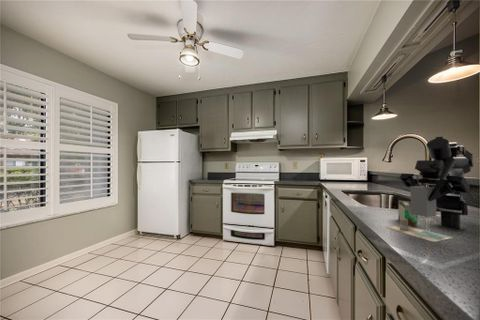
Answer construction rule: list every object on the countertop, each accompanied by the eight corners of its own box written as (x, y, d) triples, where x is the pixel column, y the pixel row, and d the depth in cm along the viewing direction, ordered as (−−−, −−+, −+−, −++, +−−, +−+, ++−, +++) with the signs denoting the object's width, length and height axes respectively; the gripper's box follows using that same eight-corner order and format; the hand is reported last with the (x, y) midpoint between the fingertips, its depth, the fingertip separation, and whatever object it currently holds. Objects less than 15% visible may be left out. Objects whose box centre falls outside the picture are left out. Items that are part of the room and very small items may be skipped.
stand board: (404, 227, 82) (404, 215, 82) (453, 240, 68) (453, 225, 68) (385, 230, 79) (385, 217, 79) (433, 244, 64) (433, 229, 65)
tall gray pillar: (420, 212, 76) (419, 186, 76) (436, 215, 71) (435, 187, 71) (410, 213, 74) (410, 186, 74) (427, 217, 69) (426, 188, 70)
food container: (424, 233, 77) (425, 207, 77) (404, 230, 80) (405, 205, 80) (414, 224, 88) (416, 201, 88) (397, 221, 91) (398, 199, 91)
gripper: (402, 153, 83) (383, 181, 79) (464, 151, 65) (443, 186, 62) (415, 172, 85) (397, 200, 82) (478, 175, 67) (459, 210, 64)
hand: (420, 199), depth 72 cm, fingers closed on tall gray pillar, 5 cm apart
